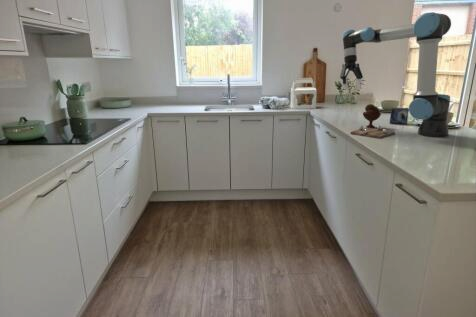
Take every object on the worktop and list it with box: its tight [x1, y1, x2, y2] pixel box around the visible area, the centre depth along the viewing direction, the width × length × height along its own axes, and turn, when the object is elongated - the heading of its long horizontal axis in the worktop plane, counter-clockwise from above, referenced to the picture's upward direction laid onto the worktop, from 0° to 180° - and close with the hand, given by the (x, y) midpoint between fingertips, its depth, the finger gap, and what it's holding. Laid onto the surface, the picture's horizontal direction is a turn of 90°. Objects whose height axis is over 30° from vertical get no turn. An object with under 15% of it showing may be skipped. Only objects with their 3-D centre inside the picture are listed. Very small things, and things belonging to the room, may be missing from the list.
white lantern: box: [289, 77, 318, 110], centre depth 303 cm, size 22×13×28 cm, turn 92°
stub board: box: [350, 125, 396, 139], centre depth 191 cm, size 18×18×4 cm
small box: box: [389, 107, 410, 125], centre depth 218 cm, size 11×6×10 cm, turn 68°
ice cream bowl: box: [362, 103, 382, 129], centre depth 208 cm, size 11×11×15 cm
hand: (352, 89), depth 207 cm, fingers open, 13 cm apart
